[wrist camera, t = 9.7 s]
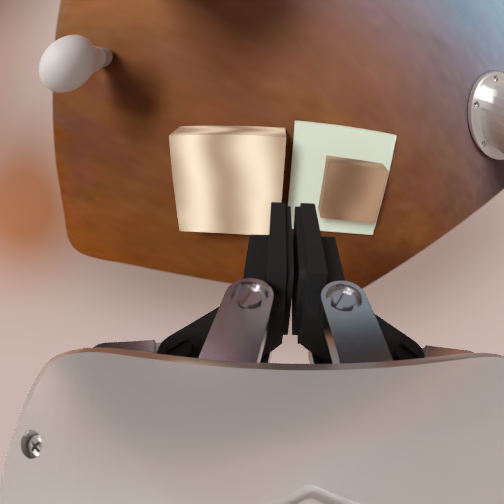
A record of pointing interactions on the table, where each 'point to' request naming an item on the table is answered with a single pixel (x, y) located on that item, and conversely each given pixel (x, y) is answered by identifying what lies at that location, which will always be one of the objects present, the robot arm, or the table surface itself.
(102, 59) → the lightbulb
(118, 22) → the table surface
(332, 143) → the sage mat
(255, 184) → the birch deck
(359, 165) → the walnut block
